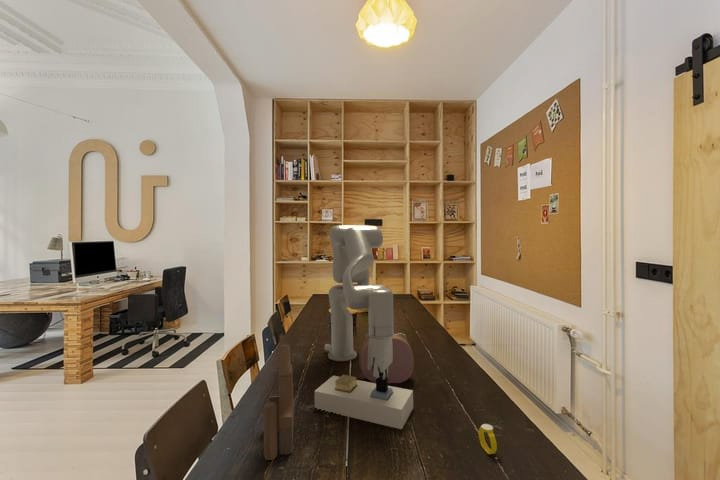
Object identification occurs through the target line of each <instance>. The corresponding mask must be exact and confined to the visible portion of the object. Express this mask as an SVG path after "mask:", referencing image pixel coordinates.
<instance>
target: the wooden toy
mask: <svg viewBox="0 0 720 480" xmlns="http://www.w3.org/2000/svg"><path fill="white" fill-rule="evenodd" d="M293 373H294V372H293V365H292V364H291V347H290V344H281V345H279V351H278V371H277V375H278V395H275V396H274V395H273V396H269V397H268V399H269V400H268V402H266V403H265V404H264V405H263V408H262V409H263V454H264V455H263V457H264V459H265V460H266V461H267V460H272V461H274V460H276V459H277V458H278V455H279V454H285V453H292V454H293V451H294V450H293V449H294V446H293V445H294V440H293V439H294V427H295V419H294V418H295V417H294V416H295V412H294V411H295V410H294V408H295V407H294V405H295V403H294V402H295V401H294V384H293V381H294V378H293ZM277 430H279V431H277ZM285 455H286V454H285ZM276 457H277V458H276ZM275 458H276V459H275ZM273 459H274V460H273Z"/></svg>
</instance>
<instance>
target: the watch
mask: <svg viewBox="0 0 720 480" xmlns="http://www.w3.org/2000/svg"><path fill="white" fill-rule="evenodd" d="M485 433H487V435H488V437H489V443H490V447H489V446H488V444H487V442H486V438H485ZM478 439H479V443H480V445H481V448H483V450H484V452H486V453H487V455H495V454H496V452H497V449H498V448H497V447H498V446H497V445H498V443H497V440H496V436H495V434H494V427H493V425H491V424H489V423H483V424H482V425H481V426H480V427H479V428H478Z"/></svg>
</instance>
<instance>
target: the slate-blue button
mask: <svg viewBox="0 0 720 480" xmlns="http://www.w3.org/2000/svg"><path fill="white" fill-rule="evenodd" d="M391 395H392V388H388V390H387V392H386V393H384V392H379V391H376V387H375V388H374V390H373V391H372V392H371V397H372V398H377V399H382V400H386V401H388V400H389V398H390V397H391Z"/></svg>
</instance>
